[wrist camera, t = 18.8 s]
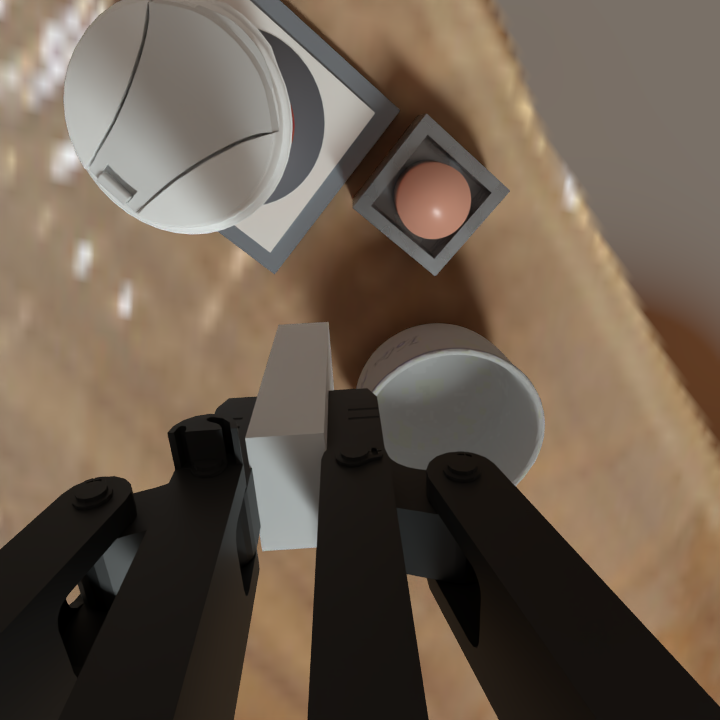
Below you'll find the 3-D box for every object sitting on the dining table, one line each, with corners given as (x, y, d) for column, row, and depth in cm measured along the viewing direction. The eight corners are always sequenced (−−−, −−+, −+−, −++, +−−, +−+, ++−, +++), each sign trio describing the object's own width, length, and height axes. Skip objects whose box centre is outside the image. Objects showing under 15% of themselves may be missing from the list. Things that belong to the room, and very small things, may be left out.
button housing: (352, 199, 34) (352, 207, 30) (417, 115, 32) (426, 113, 28) (426, 260, 35) (435, 276, 31) (492, 184, 33) (510, 190, 30)
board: (92, 131, 32) (83, 131, 31) (207, -65, 28) (201, -72, 27) (276, 271, 35) (273, 275, 34) (399, 110, 32) (400, 110, 31)
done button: (379, 201, 32) (382, 207, 29) (424, 145, 30) (431, 146, 28) (429, 243, 32) (436, 253, 30) (474, 190, 31) (486, 196, 29)
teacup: (383, 285, 36) (391, 326, 28) (536, 333, 37) (582, 384, 30) (322, 461, 41) (315, 534, 33) (458, 497, 42) (481, 576, 35)
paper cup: (250, 222, 33) (186, 285, 20) (146, 120, 31) (-2, 117, 18) (344, 123, 31) (340, 121, 18) (240, 6, 29) (150, -91, 16)
